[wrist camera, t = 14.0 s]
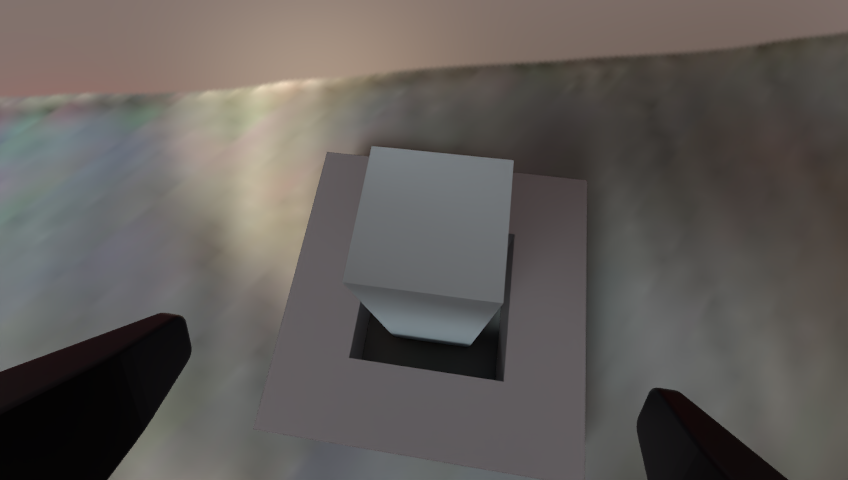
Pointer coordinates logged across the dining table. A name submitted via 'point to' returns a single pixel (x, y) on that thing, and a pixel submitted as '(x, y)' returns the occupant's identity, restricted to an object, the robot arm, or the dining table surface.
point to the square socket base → (430, 390)
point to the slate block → (431, 243)
